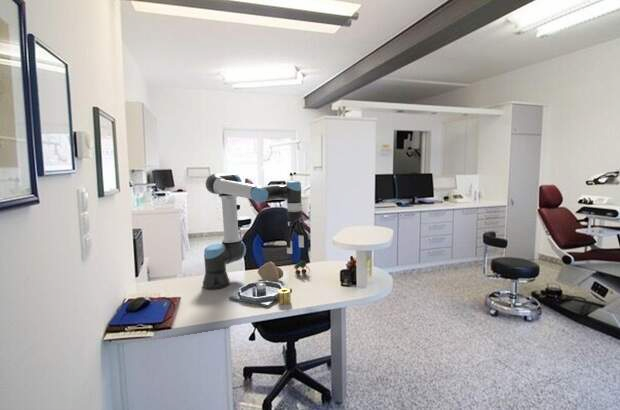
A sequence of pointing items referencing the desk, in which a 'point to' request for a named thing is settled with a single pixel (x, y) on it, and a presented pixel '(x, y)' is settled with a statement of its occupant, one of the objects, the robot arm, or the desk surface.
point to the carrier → (259, 293)
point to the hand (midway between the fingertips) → (295, 250)
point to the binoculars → (302, 265)
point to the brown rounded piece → (270, 272)
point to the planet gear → (284, 296)
